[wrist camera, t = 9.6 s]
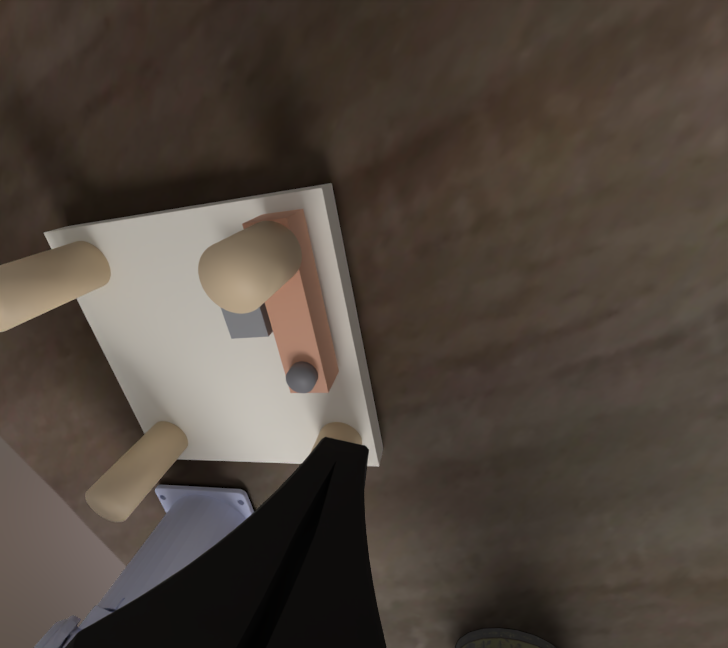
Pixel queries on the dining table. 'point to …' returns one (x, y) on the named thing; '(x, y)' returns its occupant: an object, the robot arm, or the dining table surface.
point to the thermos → (501, 639)
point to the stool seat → (198, 340)
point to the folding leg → (276, 292)
